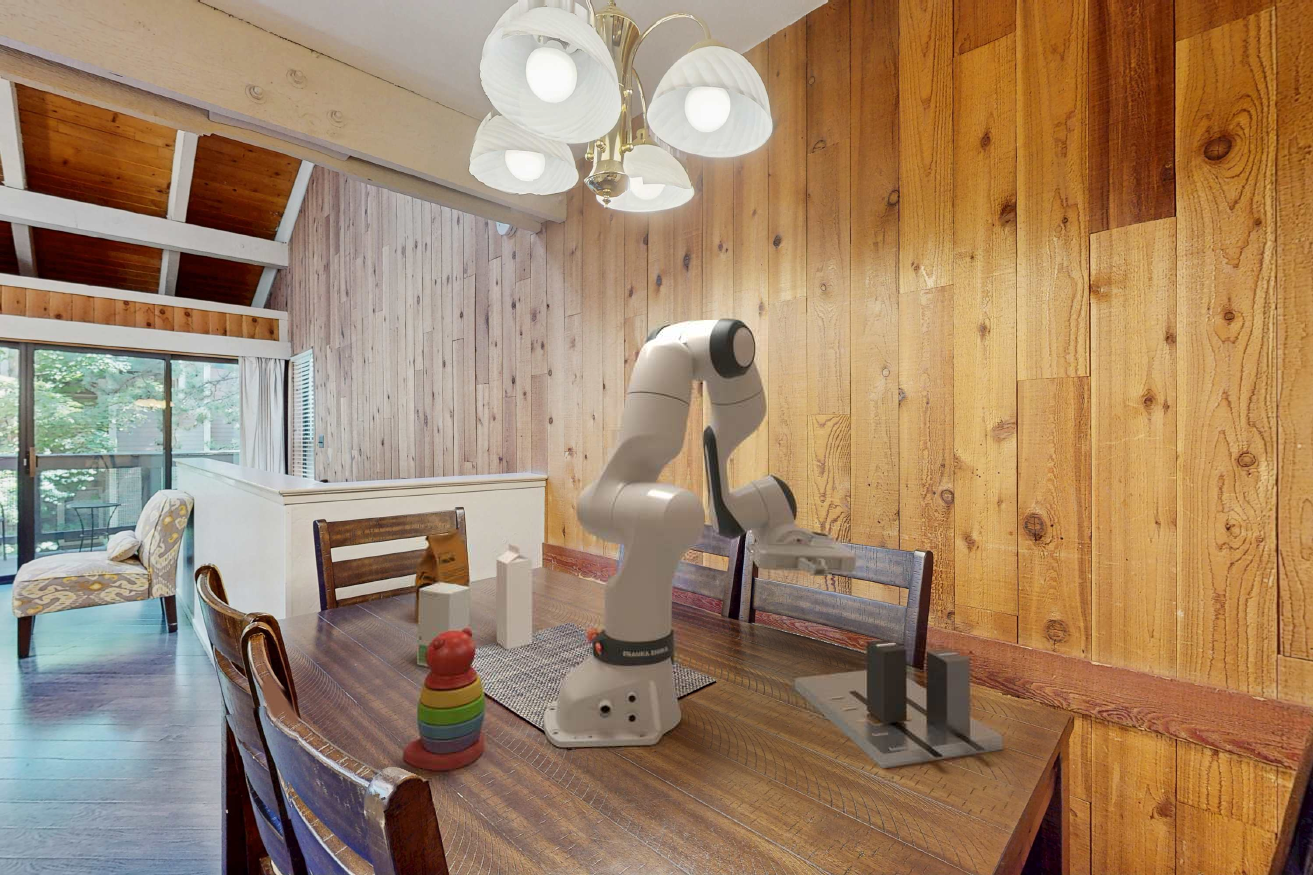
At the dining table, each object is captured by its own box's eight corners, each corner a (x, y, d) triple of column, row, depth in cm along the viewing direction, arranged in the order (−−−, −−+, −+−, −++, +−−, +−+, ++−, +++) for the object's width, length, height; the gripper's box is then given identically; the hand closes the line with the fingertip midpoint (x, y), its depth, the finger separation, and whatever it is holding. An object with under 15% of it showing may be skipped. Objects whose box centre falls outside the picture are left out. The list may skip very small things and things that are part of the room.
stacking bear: (464, 727, 92) (463, 615, 92) (502, 748, 85) (502, 629, 85) (397, 756, 83) (397, 633, 83) (434, 782, 77) (434, 650, 77)
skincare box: (416, 665, 117) (415, 588, 117) (439, 654, 123) (439, 581, 123) (448, 671, 113) (448, 592, 113) (471, 659, 120) (471, 584, 120)
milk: (506, 650, 125) (506, 549, 125) (496, 642, 130) (495, 544, 130) (532, 643, 129) (532, 545, 129) (521, 636, 134) (520, 541, 133)
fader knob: (883, 723, 88) (883, 650, 88) (866, 710, 92) (866, 640, 92) (906, 720, 89) (906, 648, 89) (888, 707, 93) (888, 638, 93)
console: (894, 778, 78) (894, 681, 78) (795, 689, 105) (794, 617, 105) (1016, 758, 82) (1016, 666, 82) (890, 677, 110) (890, 608, 110)
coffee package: (408, 622, 144) (408, 534, 144) (445, 609, 155) (445, 527, 155) (438, 628, 140) (437, 537, 140) (474, 613, 151) (474, 530, 151)
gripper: (745, 530, 118) (769, 553, 104) (837, 535, 121) (872, 557, 108) (741, 559, 119) (764, 586, 105) (833, 563, 122) (867, 589, 109)
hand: (820, 571), depth 107 cm, fingers closed
